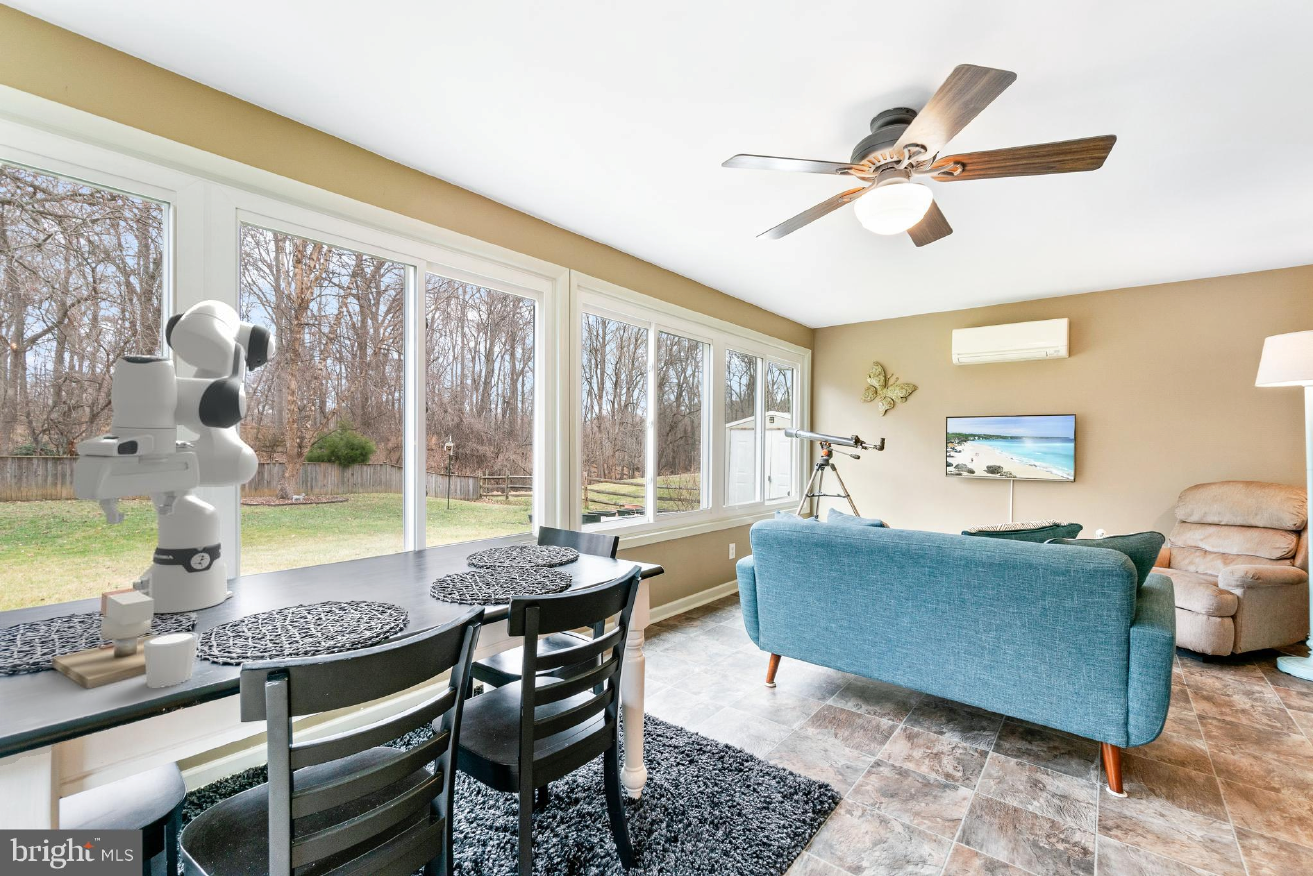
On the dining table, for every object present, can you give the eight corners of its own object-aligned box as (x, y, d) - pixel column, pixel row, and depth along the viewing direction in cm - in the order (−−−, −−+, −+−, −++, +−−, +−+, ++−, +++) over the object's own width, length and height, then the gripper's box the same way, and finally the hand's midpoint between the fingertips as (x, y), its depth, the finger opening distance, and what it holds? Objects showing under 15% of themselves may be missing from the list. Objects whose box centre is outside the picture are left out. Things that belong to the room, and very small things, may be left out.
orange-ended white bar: (111, 645, 92) (113, 606, 92) (91, 631, 98) (92, 594, 98) (161, 634, 97) (162, 597, 97) (138, 622, 103) (140, 587, 103)
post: (110, 655, 97) (111, 635, 97) (132, 650, 100) (133, 630, 100) (117, 659, 95) (118, 638, 96) (140, 653, 98) (140, 633, 98)
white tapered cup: (131, 691, 87) (133, 647, 87) (157, 673, 94) (159, 632, 94) (182, 687, 89) (184, 644, 89) (205, 670, 96) (206, 630, 96)
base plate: (51, 666, 95) (52, 656, 95) (154, 642, 107) (155, 633, 107) (88, 688, 88) (88, 678, 88) (194, 659, 100) (195, 650, 100)
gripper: (180, 441, 111) (178, 509, 111) (65, 444, 90) (63, 527, 91) (210, 442, 110) (208, 511, 111) (101, 446, 90) (99, 530, 90)
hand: (142, 518), depth 101 cm, fingers open, 8 cm apart
